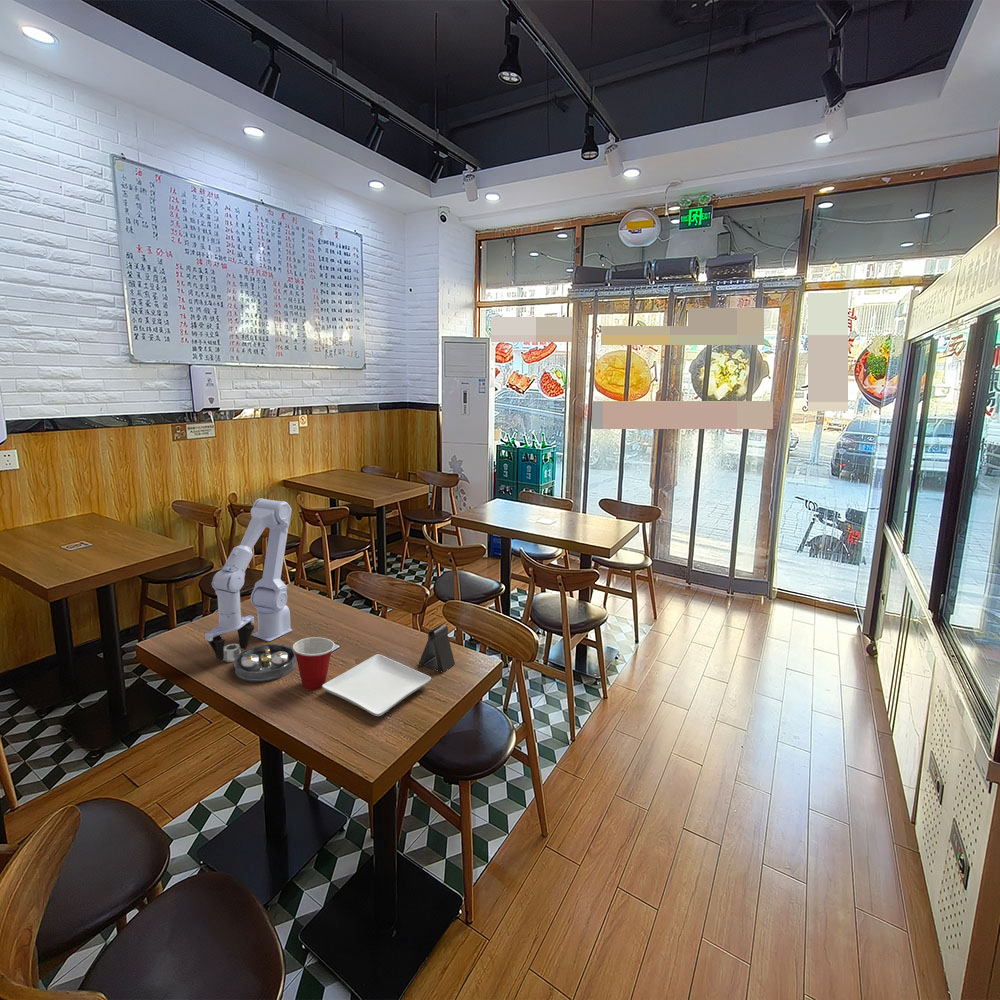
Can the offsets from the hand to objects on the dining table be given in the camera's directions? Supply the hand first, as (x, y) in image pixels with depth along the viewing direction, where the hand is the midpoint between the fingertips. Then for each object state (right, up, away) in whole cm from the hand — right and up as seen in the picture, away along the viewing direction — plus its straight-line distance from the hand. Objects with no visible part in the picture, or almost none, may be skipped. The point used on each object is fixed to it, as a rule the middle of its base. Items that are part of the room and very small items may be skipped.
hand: (232, 653), depth 157 cm
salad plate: (+45, -7, -11) cm, 47 cm away
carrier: (+11, -3, -3) cm, 12 cm away
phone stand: (+60, -4, +4) cm, 60 cm away
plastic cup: (+28, -6, -10) cm, 30 cm away
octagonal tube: (0, -1, 0) cm, 1 cm away
